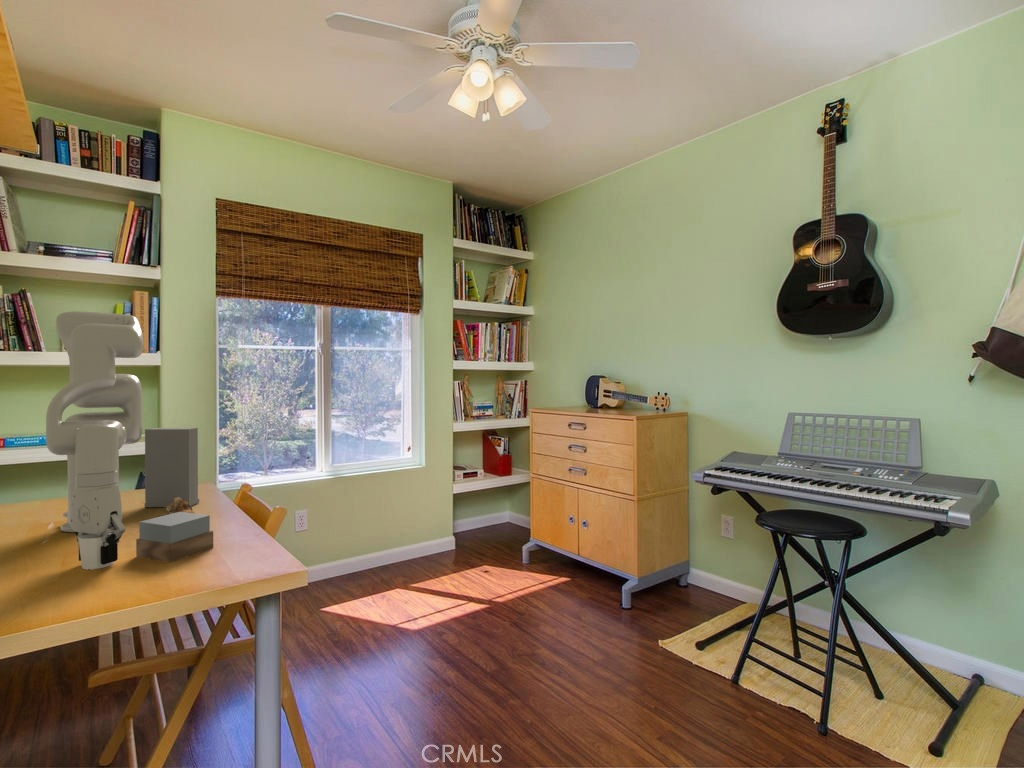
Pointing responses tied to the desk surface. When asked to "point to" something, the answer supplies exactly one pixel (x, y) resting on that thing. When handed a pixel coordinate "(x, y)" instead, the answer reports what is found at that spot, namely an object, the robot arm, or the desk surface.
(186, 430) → the tall grey upright box
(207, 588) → the desk surface
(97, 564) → the beige cup
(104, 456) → the robot arm
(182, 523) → the top block
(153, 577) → the desk surface
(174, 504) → the lion figurine
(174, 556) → the base block
